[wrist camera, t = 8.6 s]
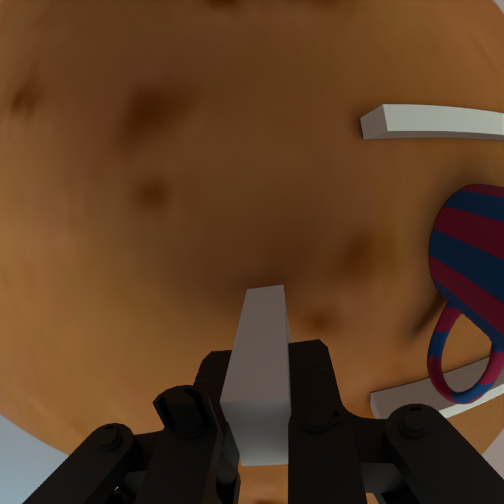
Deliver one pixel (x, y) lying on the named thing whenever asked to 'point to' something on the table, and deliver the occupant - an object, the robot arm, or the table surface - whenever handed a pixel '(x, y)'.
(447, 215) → the mug
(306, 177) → the table surface
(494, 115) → the white u-shaped frame
